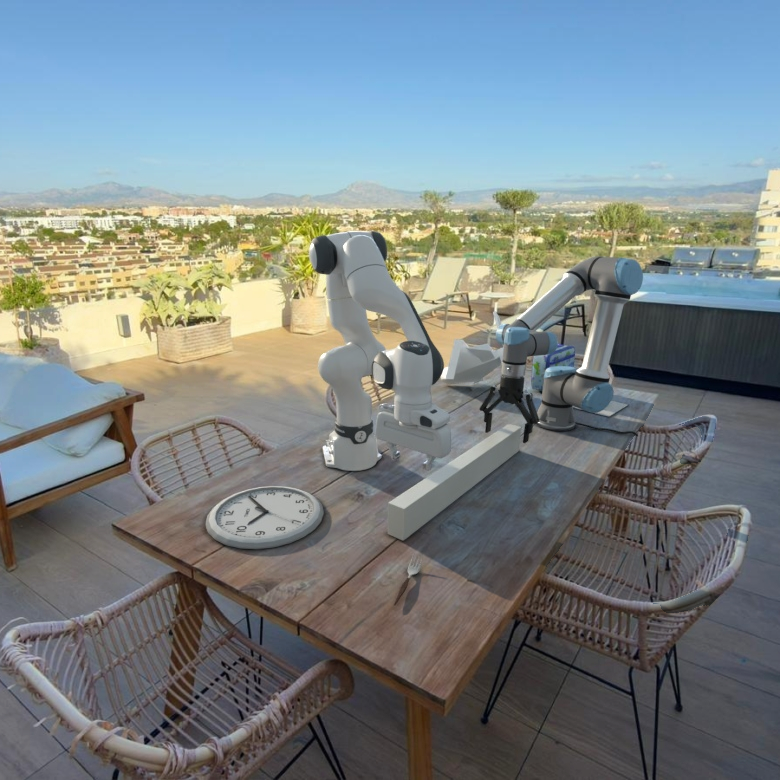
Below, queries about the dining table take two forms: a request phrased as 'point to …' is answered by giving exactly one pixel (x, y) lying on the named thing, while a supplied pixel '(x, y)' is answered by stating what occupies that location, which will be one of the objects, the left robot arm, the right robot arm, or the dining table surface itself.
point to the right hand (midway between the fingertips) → (506, 436)
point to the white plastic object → (473, 362)
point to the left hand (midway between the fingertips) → (410, 464)
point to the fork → (412, 571)
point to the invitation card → (610, 408)
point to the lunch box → (551, 363)
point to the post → (450, 482)
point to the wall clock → (264, 517)
